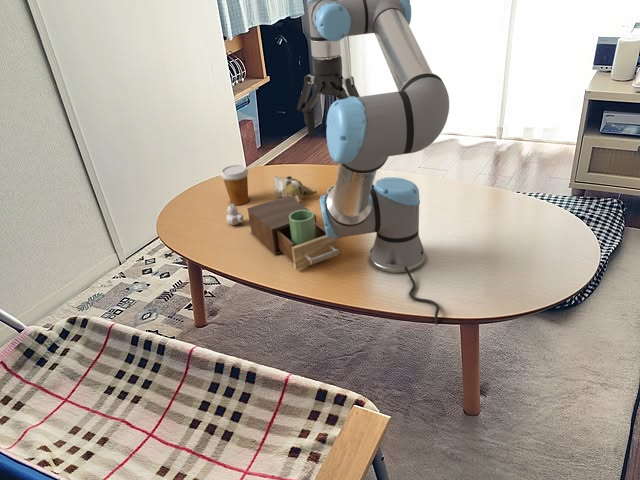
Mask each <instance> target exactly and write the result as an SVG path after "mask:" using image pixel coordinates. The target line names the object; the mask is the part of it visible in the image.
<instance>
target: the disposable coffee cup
mask: <svg viewBox="0 0 640 480" xmlns="http://www.w3.org/2000/svg"><path fill="white" fill-rule="evenodd" d="M248 174H249V169H248V168H247V167H246V166H245V165H243V164H232V165H228V166H226V167H223V168H222V169H221V174H220V176H221V178H222V179H223V182H224V185H225V189H226V192H227V195H228V198H229V202H230V203H231V204H234V205H235V206H242V205H245V204H247V203H248V202H249V184H248V183H249V182H248V181H249V180H248V176H249V175H248Z"/></svg>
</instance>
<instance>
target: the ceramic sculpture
mask: <svg viewBox="0 0 640 480" xmlns="http://www.w3.org/2000/svg"><path fill="white" fill-rule="evenodd" d="M273 185H274V194H275V196H276V197H277V199H279V198H282V197H285V196H288V195H289V196H291V197H292V198H293V199H295V200H296V201H298V202H299V203H300V204H302V202H301V198H302V197H303V196H307V197H309V196H312V195H315V194H317V192H318V191H316V190H312V189H311V188H310V187H308V186H306V185H304V184H303V183H302V181H300V180H298V179H296V178H293V177H292V176H291V175H288V176H287V177H286V176H285V177H282V176H281V177H279V176H276V175H275V176H274V177H273Z"/></svg>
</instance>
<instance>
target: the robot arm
mask: <svg viewBox="0 0 640 480" xmlns="http://www.w3.org/2000/svg"><path fill="white" fill-rule="evenodd" d="M306 1H307V2H306V7H307V11H308V12H307V13H308V22H309V33H310V48H311V49H310V50H311V57H313V58H312V70H313V74H314V75H312V74H311V73H309V74H307V75H305V76H304V77H303V87H302V90H301V93H300V96H299V100H298V103H297V106H296V110H297V111H298V112H302V113H303V120H304V124H305V126H306V127H307V137H308V139H312V138H313V137H314V136H316V135H317V133H316V124H315V113H314V111H313V110H312V109H313V107H314V106H315V105H316V103H317V101H318V100H319V99H320V97H321V95H323V96H327V95H328V96H333V97H334V96H335V98H337V100H335V101H333V102H332V103H331V105H330V106H329V108H328V111H327V115H326V131H325V134H326V145H327V150H328V154H329V156H330V159H331V160H332V161H333V162H334V163H336V164H337V170H336V177H335V184H334V185H335V187H334V188H332V190H331V191H330V192H329V194H328V193H326V194H323V195H321V196H320V197H319V205H320V211H321V216H322V221H323V227H324V229H325V231H326V235H327V237H328V238H336V239H342V238H346V237H353V236H359V235H366V234H373V233H375V239H374V242H373V245H372V247H371V248H370V251H369V254H370V263H371V264H372V266H373V267H374V268H376V269H377V270H380V271H382V272H385V273H391V274H404V273H406V274H407V276H408V278H409V280H410V281H411V284H412V287H411V289H410V291H409V294H408V295H409V298H411V299H412V300H413V301H416V302H422V303H428V304H431V305H433V306H434V307H435V313H434V325H435V326H438V325H439V321H438V319H439V317H438V316H439V312H440V306H439V304H438V303H437V302H436V301H434V300H432V299H428V298H419V297H416V296H414V295H413V293H414V291H415V290H416V286H417V283H416V281H415V280H414V278H413V276H412V274H411V273H410V272H412V271H415V270H417V269H419V268H420V267H421V266H422V265H423V264H424V263H425V257H426V254H425V249H424V246H423V243H422V240H421V237H420V234H419V231H420V204H421V200H420V188H419V187H418V186H417V185H416V184H415V183H414V182H413V181H411V180H409V179H406V178H402V177H392V176H391V177H390V176H389V177H383V178H380V179H377V180H376V181H375V177H376V174H377V171H378V170H380V169H382V167H383V166H384V165H385V164H386V162H387V161H388V158H389V157H394V156H400V155H401V156H402V155H407V154H408V155H409V154H413V153H417V152H421V151H422V150H424V149H426V148H428V147H429V146H430V145H432V144H433V143H434V142H435V141H436V140H437V139H438V137H439V136H440V135H441V133H442V131H443V130H444V129H445V125H446V124H447V120H448V119H449V118H448V117H449V113H450V96H449V91H448V89H447V87H446V85H445V83H444V81H443V79H442V78H441V77H440V76H439V75H438V74H436V73H433V71H432V69H431V67H430V64H429V63H428V61H427V59H426V56H425V55H424V53H423V51H422V49H421V47H420V45H419V43H418V41H417V39H416V37H415V34H414V33H413V30H412V28H411V27H410V25H411V21H412V5H411V0H306ZM369 34H374V36H375V37H376V40H377V42H378V44H379V47H380V50H381V52H382V55H383V57H384V60H385V61H386V64H387V67H388V69H389V71H390V74H391V76H392V79H393V81H394V83H395V86H396V88H397V91H392V92H383V93H376V94H370V95H363V96H360V94H359V91H358V89H357V87H356V85H355V79H354V76H351V75H350V76H349V77H344V76H343V57H342V56H341V54H342V41H341V40H343V39H344V38H346V37H352V36H353V37H354V36H362V35H369ZM313 84H314V85H315V87H316V88H315V89H314V91H313V93H312V95H311V96H310V93H311V90H312V88H313ZM343 86H344V87H345V88H346V89H345V88H344V87H343ZM347 93H348V94H347ZM309 96H310V98H309ZM374 181H375V183H374ZM372 185H373V186H374V188H372Z"/></svg>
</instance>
